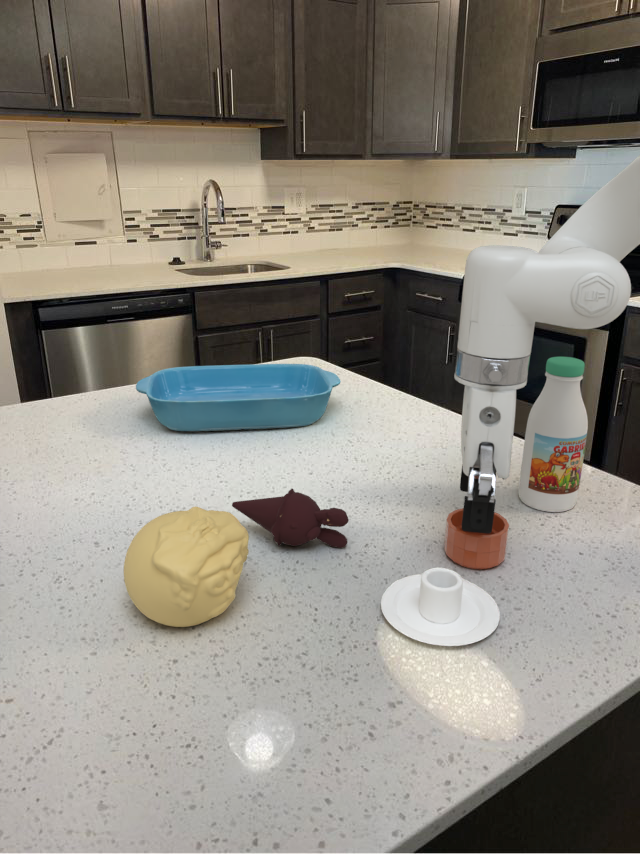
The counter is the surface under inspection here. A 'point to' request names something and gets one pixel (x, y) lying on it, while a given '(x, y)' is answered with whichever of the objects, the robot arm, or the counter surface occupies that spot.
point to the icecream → (295, 519)
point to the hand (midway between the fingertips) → (474, 510)
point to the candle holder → (440, 608)
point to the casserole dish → (238, 396)
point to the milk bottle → (555, 439)
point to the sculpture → (186, 566)
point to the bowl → (476, 542)
